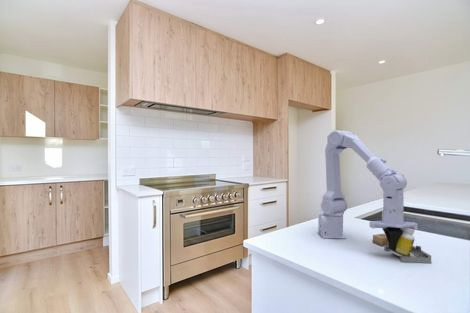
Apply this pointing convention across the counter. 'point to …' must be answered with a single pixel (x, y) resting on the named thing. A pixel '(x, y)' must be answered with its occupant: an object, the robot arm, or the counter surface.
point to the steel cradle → (418, 258)
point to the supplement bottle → (405, 242)
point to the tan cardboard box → (380, 239)
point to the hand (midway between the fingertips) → (392, 249)
